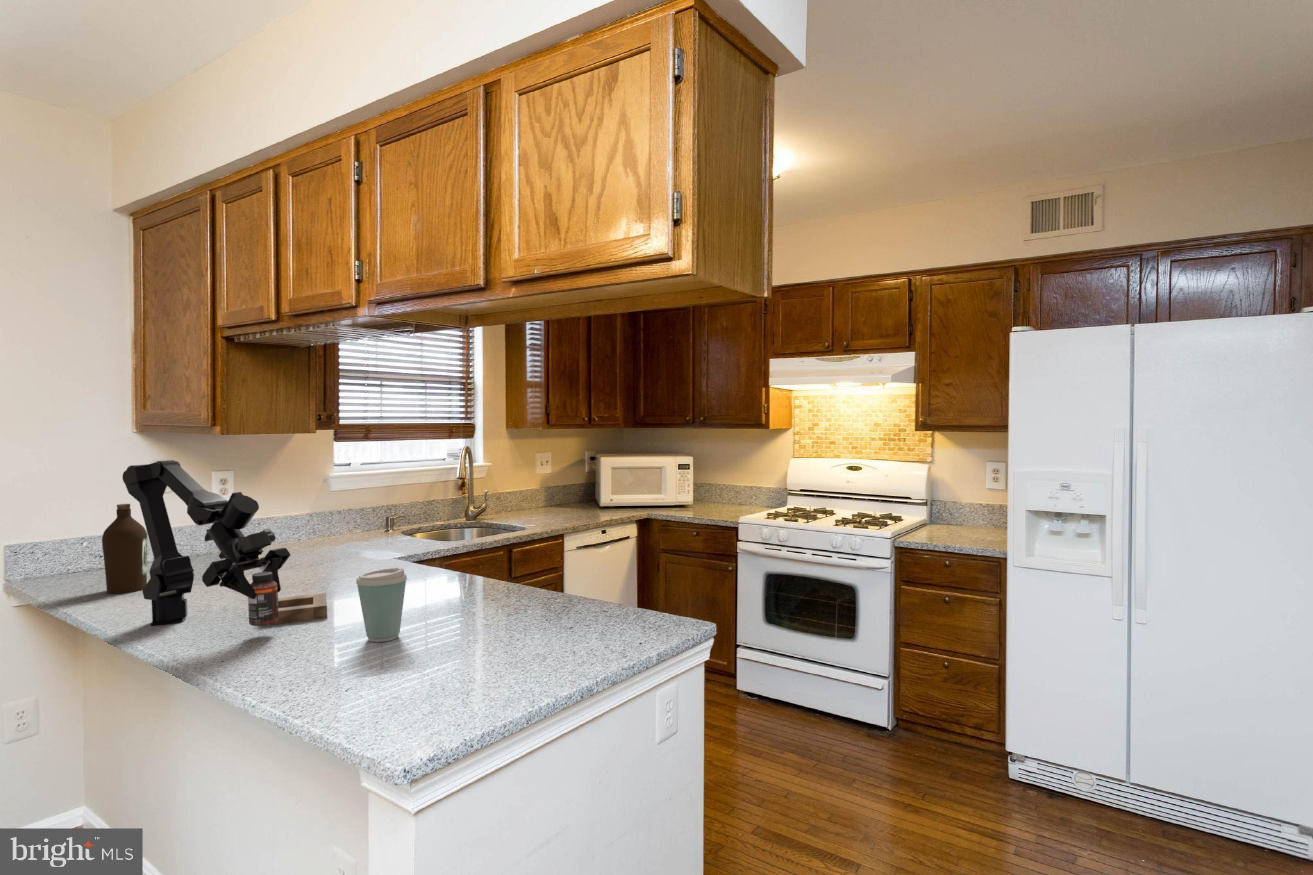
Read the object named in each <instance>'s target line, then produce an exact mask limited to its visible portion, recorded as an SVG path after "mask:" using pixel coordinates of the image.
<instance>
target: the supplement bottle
mask: <svg viewBox="0 0 1313 875" xmlns="http://www.w3.org/2000/svg"><path fill="white" fill-rule="evenodd" d="M251 579H252V582H251V583H250V585H251V587H252V588H253V590H254V592H255V594H256V598H255V599H251V598H249V597H247V603H248V605H247V606H248V607H247V608H248V610H247V611H248V624H249V625H250V626H253V627H262V626H270V625H269V624H272V625H274V624H273V623H275V622H277V621H278V619H279V618H278V616H279V614H278V598H279V592H278V588H277V583H276V582H275V581H273V580H272V572H262V571H260V572H255V573H252V575H251Z"/></svg>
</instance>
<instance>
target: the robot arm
mask: <svg viewBox="0 0 1313 875" xmlns="http://www.w3.org/2000/svg"><path fill="white" fill-rule="evenodd" d="M122 481H123V484H124V485H125V488H126V490H127V492H128V494H129V495H130V496H131V497H133V499H135V500H136V501H137V502H138V503H139V507H140V510H141V511H140V512H141V513H142V518H143V520H144V525H145V530H146V533H147V538H148V539H149V544H150V548H151V551H152V555H153V560H152V563H151V566H150V568H149V577H150V578H149V580H147V584H146V586H145V587H144V589H143V590H141V591H142V595H143V599H144V600H149V601H151V622H150V626H156V625H164V624H175V623H181V622H184V620H185V619H186V618H187V616H188V614H189V613H188V599H187V598H185V594H188V593H192V588H193V584H194V579H195V570H194V568H193V566H192V561H191V558H190V556H189V555H185V556H184V555H182V554H181V553H180V552H179V551H178V547H177V544H176V540H175V536H174V532H173V528H172V525H171V521H170V518H169V514H168V510H167V507H166V503H165V500H164V494H165V492H166V489H167V488H168V489H170V490H171V491H172V492H173V494H175V495H176V496H177V497H178V498H179V499H180V500H181V501H182V502H183V503H184V504H185V505H186V507H187V508H186V509H187V510H186V514H187V515H188V516H189V517H190V519H191V521H193V523H194V524H195V525H197V526H205V525H206V526H207V525H211V526H210V528H207V529H206V533H205V535H204V542H211V541H213V542H214V544H215V545H216V547H217V548H218V550H219V551H220V553H219V554H218V558H219V560H216V561H212V562H211V563H210V564H209V566H208V567H207V568H206V570H205V571H204V572H203V574H202V576H201V581H202V582H203V584H204V586H206V587H207V588H210V587H214V586H219V587H220V588H221V587H224V588H227V589H229V590H232V591H234V592H236V593H239V594H241V595H243V596H245V597H247V598H248V597H249V598H251V599H255V598H256V594H255V592H254V590H253V588H252V587H251V585H250V584H251V583H250V581H248V579H247V577H246V575H245V571H249V570H255V569H259V570H260V572H272V580H273V581H275V582H276V583H277V588H278V593H280V591H282V589H281V583H280V577H279V570H280V569H281V568H283V566H284V564H285V563H286V562H287V560H289V558H290V557H291V556H292V555H291V552H290V551H289V550H288V548H287V547H279V548H273V549H269V551H268V552H267V553H266V555H264V557H259V556H260V555H262V554H263V552H264V550H263V549H264V548H266V547H268V546H271V545H272V543H273V542H275V541H276V535H275V533H274V531H273V530H272V529H271V528H266V529H262V530H261V531H259V532H256V533H255V532H254V533H250V534H248V535H244V533H243V532H242V529H245V528H246V527H247V526H248V525H249V524H250V522H251V521H252V519H253V518H254V516H255V515H256V514H257V512H258V510H259V509H260V505H259V503H258V501H257V500H255V499H254V498H252V497H251V496H248V495H244V494H243V492H242V491H238V492H232V493H231V495H230V496H229V499H228V500H227V499H226V498H225V497H223V496H221V495H220V494H218V493H215V492H211V491H208V490H206V489H205V488H203V486H202V485H201V484H200V483H198V482H197V481H196V479H194V478H193V477H192V476H191V475H190V474H189V473H187V472H186V470H184V469H183V468H182V466H181V463H180V462H179V461H178V460H175V459H173V460H172V459H170V460H169V459H167V460H157V461H155V462H151V463H149V464H148V463H147V464H135V465H134V464H133V465H129V466H128V467H127V468H126V470H124V471H123V473H122Z"/></svg>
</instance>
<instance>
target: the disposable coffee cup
mask: <svg viewBox="0 0 1313 875" xmlns="http://www.w3.org/2000/svg"><path fill="white" fill-rule="evenodd" d="M407 580H408V578H407V574H406V573H405V568H403V567H388V568H382V569H376V570H372V571H368V572H364V573H362V574H360V575H358V577H357V578H356V581H355V582H356V585H357V591H358V596H359V602H360V606H361V612H362V617H363V623H364V628H365V635H366V637H367V639H368V641H369V642H373V643H381V642H382V643H383V642H389V641H393V640H395V639H397V638H398V637H399V634H400V632H401V624H402V619H403V618H402V616H403V609H404V608H403V607H404V601H405V592H406V584H407V583H406V582H407Z"/></svg>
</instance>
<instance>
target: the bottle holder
mask: <svg viewBox="0 0 1313 875" xmlns="http://www.w3.org/2000/svg"><path fill="white" fill-rule="evenodd" d="M327 600H328V599H327V592H322V593H315V594H304V595H297V596H296V595H295V596H287V597H278V614H279V616H278V618H279V619H278V621H277V622H275V623H273V624H269V625H268V626H270V625H272V626H273V625H278V624H287V623H294V622H296V623H297V622H302V621H311V620H320V619H326V618H328V603H327Z"/></svg>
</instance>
